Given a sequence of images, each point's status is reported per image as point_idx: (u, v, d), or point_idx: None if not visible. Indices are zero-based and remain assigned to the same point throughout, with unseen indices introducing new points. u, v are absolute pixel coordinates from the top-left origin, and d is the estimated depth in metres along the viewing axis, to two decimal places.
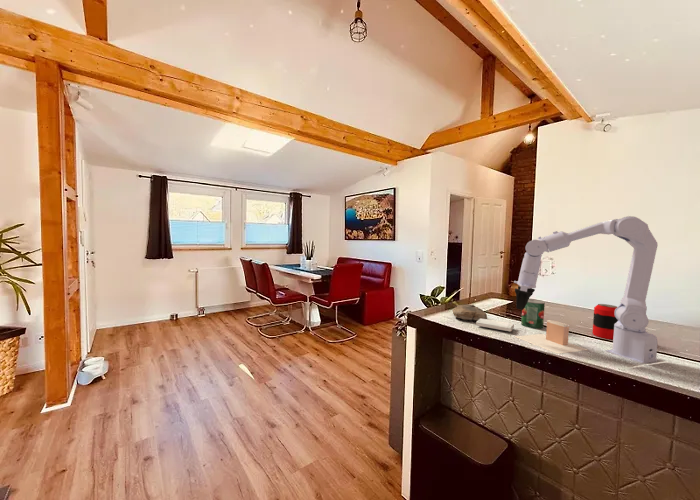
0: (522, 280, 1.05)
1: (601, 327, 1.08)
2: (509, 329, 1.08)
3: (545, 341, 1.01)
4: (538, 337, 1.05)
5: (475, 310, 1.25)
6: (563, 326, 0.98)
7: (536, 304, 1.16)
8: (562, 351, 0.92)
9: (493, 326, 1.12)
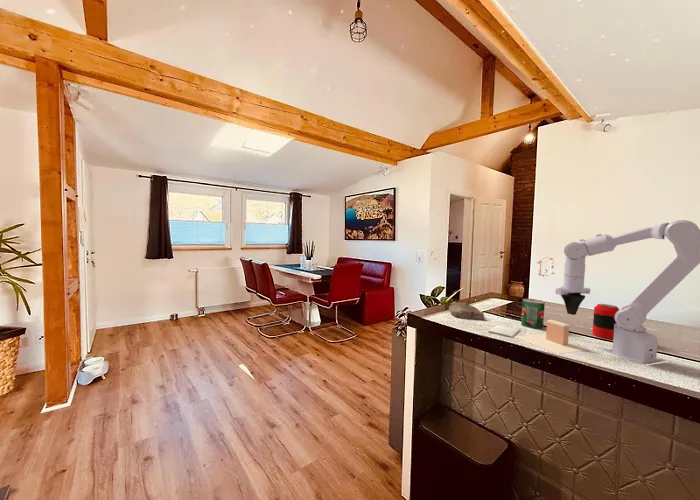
0: (564, 285, 1.02)
1: (601, 327, 1.08)
2: (519, 330, 1.13)
3: (545, 341, 1.01)
4: (538, 337, 1.05)
5: (472, 309, 1.31)
6: (563, 326, 0.98)
7: (536, 304, 1.16)
8: (562, 351, 0.92)
9: (516, 333, 1.09)
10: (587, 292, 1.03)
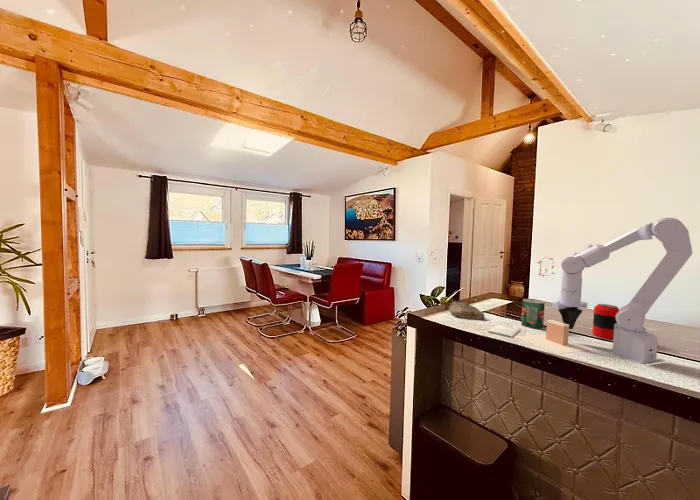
0: (561, 299, 1.02)
1: (601, 327, 1.08)
2: (519, 330, 1.13)
3: (545, 341, 1.01)
4: (538, 337, 1.05)
5: (473, 309, 1.31)
6: (563, 326, 0.98)
7: (536, 304, 1.16)
8: (562, 351, 0.92)
9: (516, 333, 1.09)
10: (584, 306, 1.03)
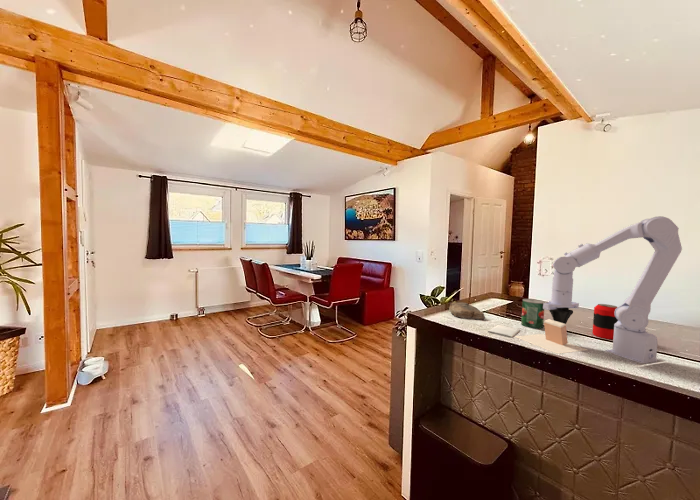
0: (552, 299, 1.01)
1: (601, 327, 1.08)
2: (519, 330, 1.13)
3: (545, 341, 1.01)
4: (538, 337, 1.05)
5: (473, 309, 1.31)
6: (560, 327, 0.97)
7: (536, 304, 1.16)
8: (562, 351, 0.92)
9: None
10: (575, 307, 1.02)
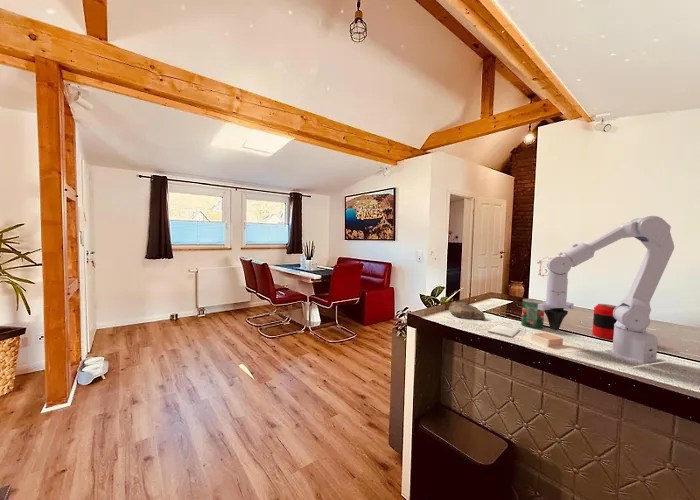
0: (547, 300, 1.00)
1: (601, 327, 1.08)
2: None
3: None
4: None
5: (473, 309, 1.31)
6: (548, 346, 0.96)
7: (536, 304, 1.16)
8: (562, 351, 0.92)
9: (515, 334, 1.09)
10: (570, 307, 1.01)
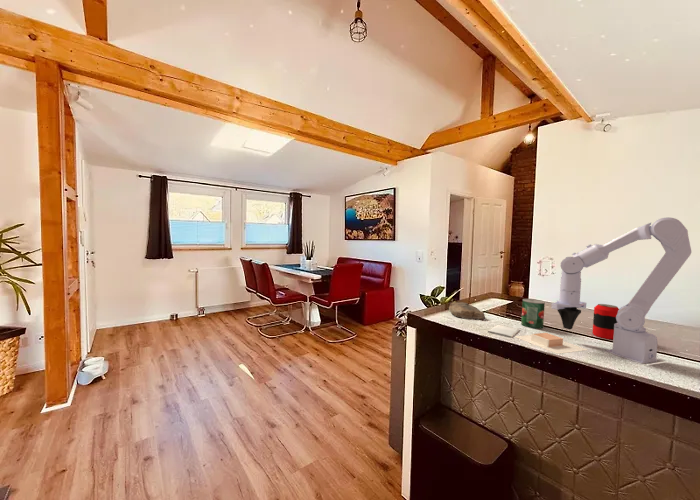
0: (560, 299, 1.02)
1: (601, 327, 1.08)
2: None
3: None
4: None
5: (473, 309, 1.31)
6: (548, 346, 0.96)
7: (536, 304, 1.16)
8: (562, 351, 0.92)
9: None
10: (583, 306, 1.03)
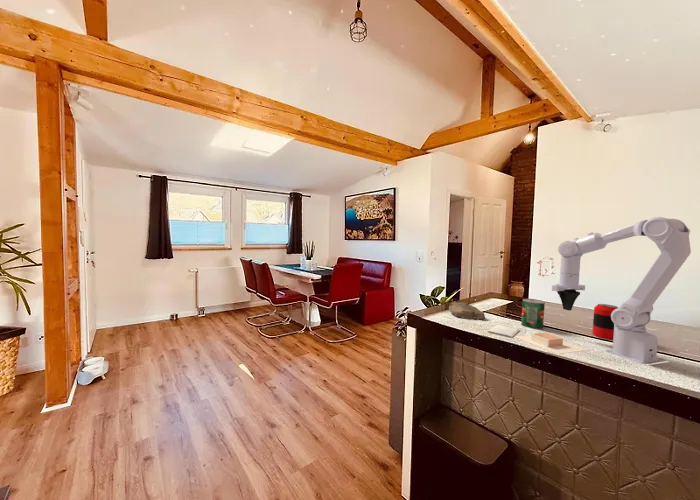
0: (560, 282, 1.07)
1: (601, 327, 1.08)
2: (519, 330, 1.13)
3: None
4: None
5: (473, 309, 1.31)
6: (548, 346, 0.96)
7: (536, 304, 1.16)
8: (562, 351, 0.92)
9: (515, 333, 1.09)
10: (582, 289, 1.08)
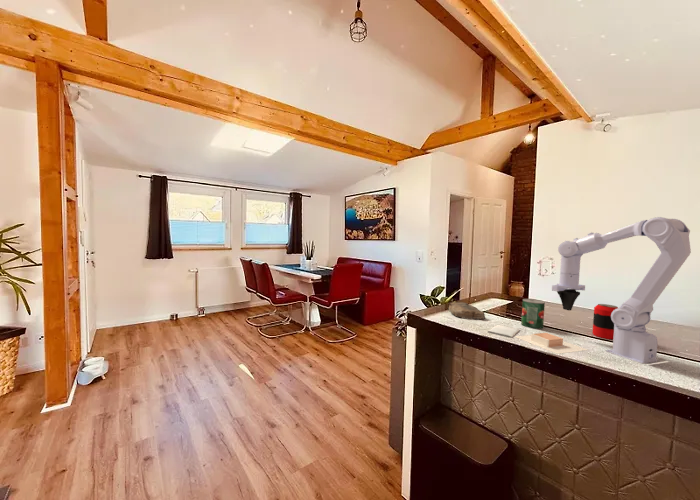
0: (560, 282, 1.07)
1: (601, 327, 1.08)
2: (519, 330, 1.13)
3: None
4: None
5: (473, 309, 1.32)
6: (548, 346, 0.96)
7: (536, 304, 1.16)
8: (562, 351, 0.92)
9: (515, 333, 1.09)
10: (582, 289, 1.08)
